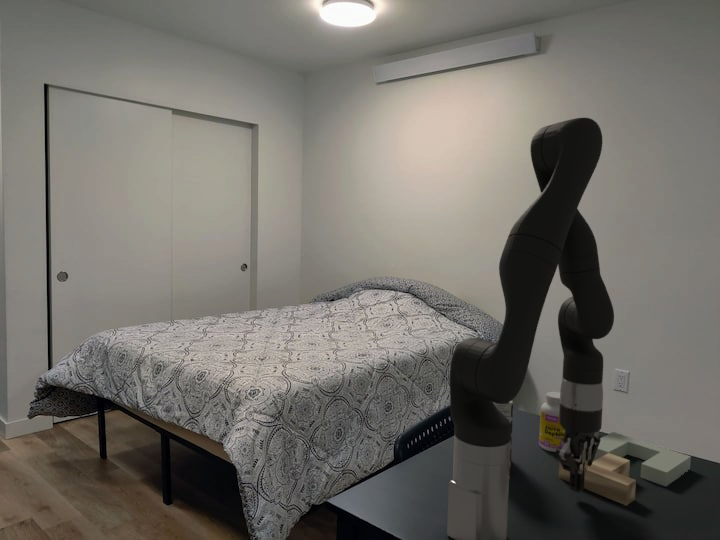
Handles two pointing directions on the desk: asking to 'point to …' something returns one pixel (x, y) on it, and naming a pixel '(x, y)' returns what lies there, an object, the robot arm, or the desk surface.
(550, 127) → the robot arm
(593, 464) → the T block
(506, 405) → the candy bar box
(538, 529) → the desk surface
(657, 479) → the T dock
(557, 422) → the supplement bottle
